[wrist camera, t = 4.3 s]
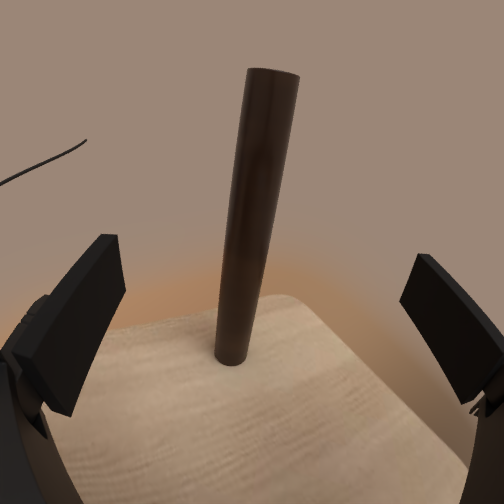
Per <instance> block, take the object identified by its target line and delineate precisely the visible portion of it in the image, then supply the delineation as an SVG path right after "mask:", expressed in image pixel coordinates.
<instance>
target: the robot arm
mask: <svg viewBox="0 0 504 504" xmlns="http://www.w3.org/2000/svg"><path fill="white" fill-rule="evenodd" d="M86 141H87V139H85V140H84V141H83V142H81V143H80V144H78V145H77V146H75V147H73V148H71V149H69V150H67V151H65V152H63V153H62V154H59V155H57V156H55V157H52V158H50V159H48V160H46V161H44V162H41V163H39V164H37V165H35V166H32V167H30V168H28V169H26V170H24V171H22V172H20V173H18V174H15V175H13V176H12V177H9V178H7V179H5V180H4V181H2V182H0V186H1V185H3V184H5V183H7V182H9V181H11V180H13V179H15V178H17V177H19V176H20V175H23V174H25V173H27V172H29V171H31V170H33V169H35V168H38V167H40V166H42V165H44V164H46V163H48V162H50V161H53V160H55V159H57V158H59V157H61V156H63V155H65V154H67V153H69V152H71V151H73V150H75V149H76V148H78V147H80V146H81V145H82V144H84V143H85V142H86ZM125 292H126V288H125V283H124V277H123V271H122V265H121V258H120V251H119V244H118V236H117V235H113V234H101V235H100V236H99V237H98V238H97V239H96V240H95V241H94V242H93V244H92V245H91V246H90V247H89V248H88V249H87V250H86V251H85V253H84V254H83V255H82V256H81V257H80V258H79V259H78V261H77V262H76V263H75V264H74V265H73V266H72V268H71V269H70V270H69V271H68V273H67V274H66V275H65V276H64V277H63V279H62V280H61V281H60V282H59V284H58V285H57V286H56V288H55V289H54V290H53V291H52V293H51V294H50V295H44V296H42V297H41V298H39V299H38V300H37V301H35V302H34V303H33V305H32V306H31V307H30V309H29V310H28V311H27V314H26V315H24V317H23V318H22V319H21V323H19V324H18V325H17V326H16V328H15V330H14V331H13V333H12V334H11V335H10V337H9V338H8V340H7V341H6V343H5V344H4V346H3V347H2V349H1V350H0V504H84V503H83V502H82V500H81V498H80V496H79V494H78V493H77V491H76V489H75V487H74V485H73V483H72V481H71V479H70V477H69V475H68V473H67V471H66V469H65V466H64V464H63V462H62V460H61V458H60V455H59V453H58V450H57V448H56V446H55V443H54V440H53V438H52V435H51V432H50V430H49V427H48V424H47V421H46V418H45V415H44V413H43V411H42V409H41V406H42V404H43V401H44V402H45V403H46V404H47V406H48V407H49V408H50V409H51V411H54V412H57V413H59V414H62V415H65V416H68V417H71V416H72V413H73V410H74V408H75V405H76V402H77V399H78V397H79V394H80V392H81V389H82V386H83V384H84V381H85V379H86V376H87V374H88V372H89V369H90V367H91V364H92V362H93V360H94V357H95V355H96V353H97V350H98V348H99V346H100V344H101V341H102V339H103V337H104V335H105V333H106V331H107V328H108V326H109V324H110V322H111V320H112V317H113V316H114V314H115V312H116V310H117V308H118V305H119V304H120V302H121V300H122V298H123V296H124V294H125ZM399 302H400V303H401V305H402V306H403V308H404V309H405V311H406V312H407V314H408V315H409V317H410V318H411V320H412V321H413V323H414V324H415V326H416V327H417V329H418V330H419V332H420V334H421V335H422V337H423V338H424V340H425V342H426V343H427V345H428V346H429V348H430V349H431V351H432V353H433V355H434V356H435V358H436V360H437V361H438V363H439V365H440V366H441V368H442V370H443V372H444V373H445V375H446V377H447V379H448V381H449V382H450V384H451V386H452V388H453V390H454V392H455V393H456V395H457V397H458V399H459V401H460V403H461V405H462V404H465V403H467V402H470V401H472V400H474V399H475V398H476V396H477V395H478V394H479V393H480V392H481V391H482V390H483V391H484V393H485V395H484V396H483V397H482V398H481V399H480V400H479V401H478V402H477V403H476V404H475V405H474V406H473V408H472V409H471V410H470V412H469V414H472V413H473V411H475V410H476V409H477V408H479V409H478V410H477V411H476V413H475V414H474V416H477V417H478V424H477V431H476V437H475V444H474V449H473V454H472V459H471V463H470V467H469V472H468V476H467V479H466V483H465V487H464V490H463V493H462V497H461V500H460V503H459V504H504V336H503V335H502V334H501V332H500V331H499V330H498V329H497V328H496V326H495V325H494V324H493V322H492V321H491V320H490V319H489V318H488V316H487V315H486V314H485V313H484V312H483V311H482V309H481V308H480V307H479V306H478V305H477V304H476V303H475V301H474V300H473V299H472V298H471V297H470V296H469V295H468V294H467V292H466V291H465V290H464V289H463V288H462V287H461V286H460V285H459V284H458V283H457V282H456V281H455V280H454V279H453V278H452V277H451V275H450V274H449V273H447V271H446V270H445V269H444V268H443V267H442V266H440V264H439V263H438V262H437V261H436V260H435V259H433V257H431V256H430V255H429V254H419V253H418V254H417V258H416V260H415V263H414V265H413V268H412V271H411V273H410V276H409V279H408V281H407V284H406V286H405V289H404V291H403V293H402V296H401V298H400V301H399Z"/></svg>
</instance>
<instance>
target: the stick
mask: <svg viewBox="0 0 504 504" xmlns="http://www.w3.org/2000/svg"><path fill="white" fill-rule="evenodd" d="M299 80H300V77H299V76H298V75H295V74H292V73H289V72H284V71H279V70H272V69H265V68H248V70H247V75H246V82H245V88H244V96H243V102H242V109H241V116H240V123H239V130H238V137H237V144H236V152H235V160H234V167H233V175H232V184H231V191H230V200H229V208H228V217H227V227H226V235H225V245H224V254H223V263H222V274H221V284H220V294H219V305H218V316H217V327H216V339H215V357H216V358H217V360H218V361H219V362H220V363H222V364H224V365H228V366H236V365H239V364H241V363H242V362H243V361H244V360H245V359H246V356H247V351H248V346H249V341H250V337H251V332H252V327H253V322H254V318H255V313H256V308H257V303H258V298H259V293H260V288H261V284H262V278H263V274H264V269H265V263H266V258H267V254H268V249H269V243H270V238H271V233H272V228H273V223H274V218H275V212H276V207H277V202H278V197H279V192H280V186H281V180H282V176H283V170H284V165H285V159H286V154H287V148H288V143H289V137H290V132H291V126H292V121H293V115H294V109H295V103H296V97H297V92H298V86H299Z"/></svg>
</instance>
